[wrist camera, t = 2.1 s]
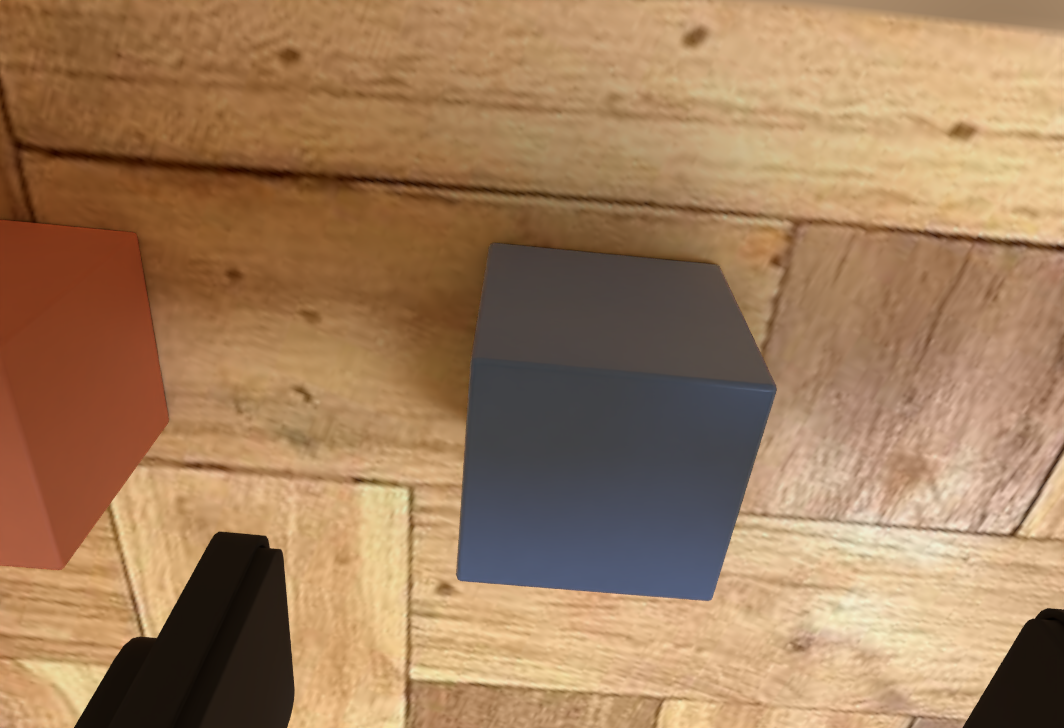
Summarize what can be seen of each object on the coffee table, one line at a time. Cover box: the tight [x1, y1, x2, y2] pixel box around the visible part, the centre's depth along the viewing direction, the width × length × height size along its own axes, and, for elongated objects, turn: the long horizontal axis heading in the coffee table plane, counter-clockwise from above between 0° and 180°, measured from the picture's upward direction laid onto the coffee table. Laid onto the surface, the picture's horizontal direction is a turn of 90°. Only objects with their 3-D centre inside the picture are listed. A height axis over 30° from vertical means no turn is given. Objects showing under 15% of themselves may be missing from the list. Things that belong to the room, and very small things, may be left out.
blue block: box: [456, 243, 777, 601], centre depth 14 cm, size 4×4×4 cm
